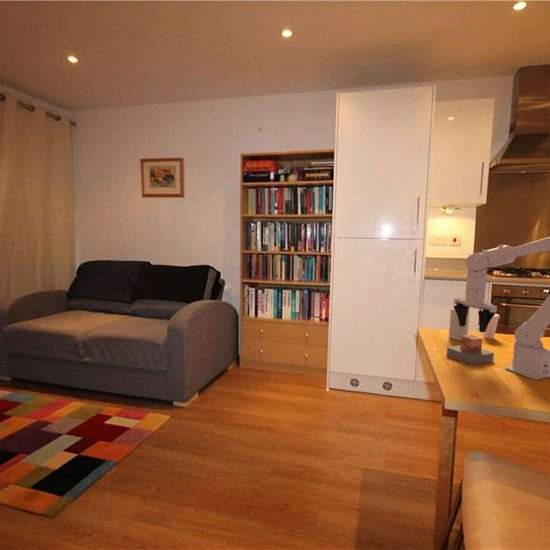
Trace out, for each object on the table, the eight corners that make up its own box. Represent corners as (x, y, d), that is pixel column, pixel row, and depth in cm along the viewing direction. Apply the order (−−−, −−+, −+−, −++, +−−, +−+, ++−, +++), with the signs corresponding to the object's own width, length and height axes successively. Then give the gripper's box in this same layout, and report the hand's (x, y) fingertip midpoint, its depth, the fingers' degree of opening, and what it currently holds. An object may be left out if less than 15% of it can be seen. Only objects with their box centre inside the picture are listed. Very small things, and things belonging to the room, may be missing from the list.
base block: (493, 361, 124) (493, 352, 124) (472, 365, 120) (473, 356, 120) (466, 352, 133) (467, 344, 133) (446, 355, 129) (447, 347, 129)
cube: (481, 351, 125) (482, 338, 125) (471, 352, 123) (472, 339, 123) (469, 347, 129) (470, 334, 129) (460, 348, 127) (461, 335, 127)
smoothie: (492, 335, 155) (496, 302, 153) (500, 340, 149) (504, 305, 147) (476, 334, 156) (479, 302, 154) (483, 339, 149) (487, 305, 148)
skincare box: (467, 339, 149) (470, 310, 147) (464, 341, 146) (467, 311, 144) (451, 336, 153) (453, 307, 151) (448, 338, 150) (450, 309, 148)
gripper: (504, 292, 119) (500, 333, 120) (465, 285, 132) (461, 322, 133) (489, 293, 116) (485, 335, 117) (450, 286, 129) (447, 324, 131)
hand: (472, 328), depth 125 cm, fingers open, 7 cm apart
